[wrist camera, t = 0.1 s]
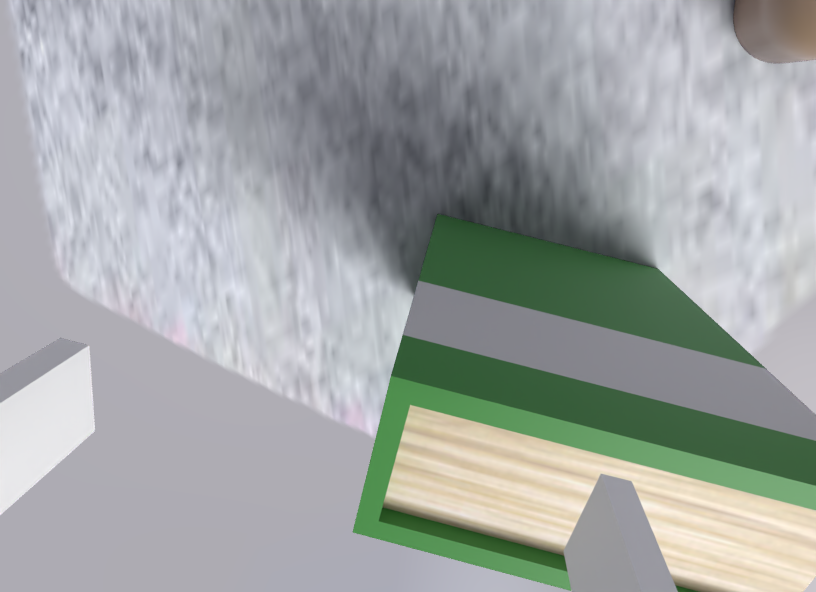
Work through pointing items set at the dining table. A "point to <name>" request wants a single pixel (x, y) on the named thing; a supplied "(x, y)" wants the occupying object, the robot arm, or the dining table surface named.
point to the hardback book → (584, 420)
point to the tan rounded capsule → (777, 29)
